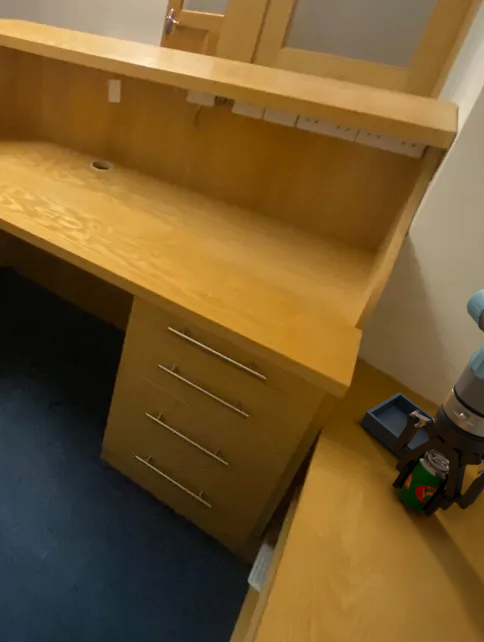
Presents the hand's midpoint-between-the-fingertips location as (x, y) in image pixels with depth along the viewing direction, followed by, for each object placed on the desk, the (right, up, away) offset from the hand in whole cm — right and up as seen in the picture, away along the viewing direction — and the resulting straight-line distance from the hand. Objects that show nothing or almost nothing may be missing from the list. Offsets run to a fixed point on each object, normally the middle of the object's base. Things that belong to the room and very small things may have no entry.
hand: (414, 497), depth 94 cm
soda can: (0, -1, 0) cm, 1 cm away
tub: (+7, +6, +12) cm, 15 cm away
